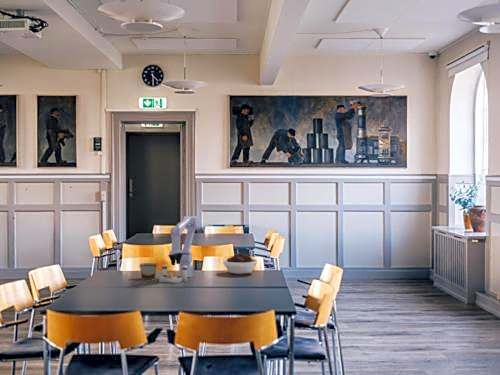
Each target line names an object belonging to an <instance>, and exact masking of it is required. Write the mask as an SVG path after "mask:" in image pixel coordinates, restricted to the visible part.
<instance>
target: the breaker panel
mask: <svg viewBox="0 0 500 375" xmlns="http://www.w3.org/2000/svg"><path fill="white" fill-rule="evenodd" d="M158 277H159V278H158V282H159V283H169V284H170V283H174V284H180V283H182V282H184V281H183V277H181V276H177V275H173V277H168V274H167V275H164V276H162V275H161V276H158Z"/></svg>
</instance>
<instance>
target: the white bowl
mask: <svg viewBox="0 0 500 375" xmlns="http://www.w3.org/2000/svg"><path fill="white" fill-rule="evenodd" d="M222 264H223V265H224V266H225V267H226V271H227V272H228V273H231V274H235V275H246V274H250V273H252V272H253V270H254V268H255V267H256V266H257V264H258V260H257V259H254V258H252V257H251V256H250V255H249V254H248V253H242V252H241V253H240V252H239V253H234V255H233V256H231V257H229V258H225V259H223V261H222Z"/></svg>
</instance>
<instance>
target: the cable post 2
mask: <svg viewBox="0 0 500 375" xmlns="http://www.w3.org/2000/svg"><path fill="white" fill-rule="evenodd" d="M182 277H183V281H182V282H188V277H187V266H182Z"/></svg>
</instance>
